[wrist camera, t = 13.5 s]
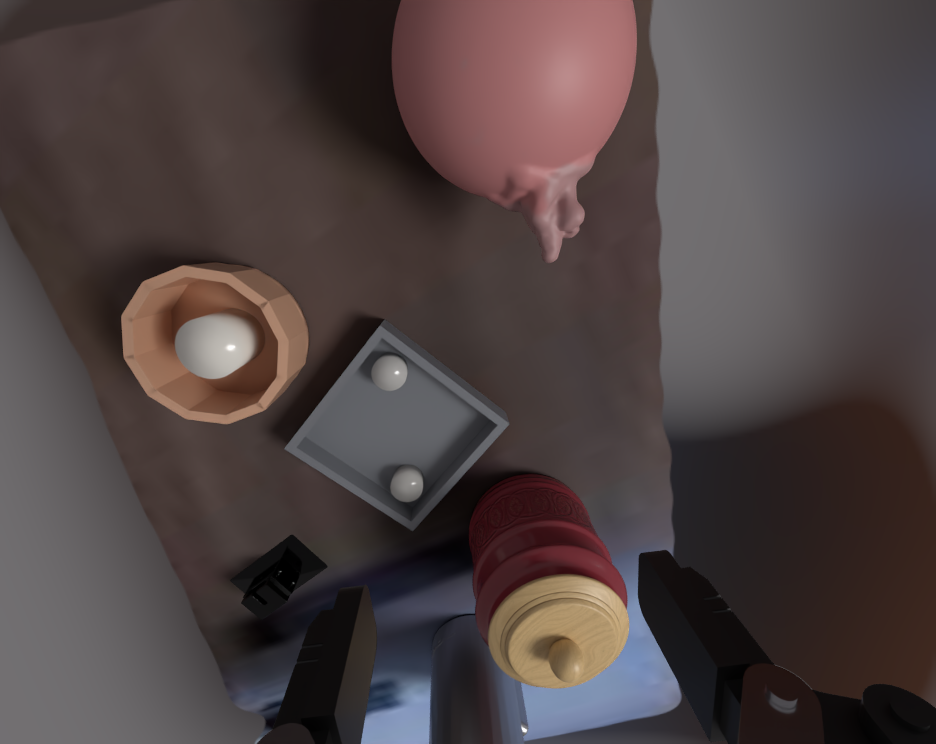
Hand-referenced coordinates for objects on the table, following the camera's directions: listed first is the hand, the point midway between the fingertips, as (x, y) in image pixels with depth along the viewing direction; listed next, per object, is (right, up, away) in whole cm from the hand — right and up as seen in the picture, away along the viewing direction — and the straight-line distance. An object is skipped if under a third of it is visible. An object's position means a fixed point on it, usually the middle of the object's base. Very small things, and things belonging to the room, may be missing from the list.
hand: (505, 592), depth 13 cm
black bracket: (-22, -16, +36) cm, 45 cm away
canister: (+5, -10, +35) cm, 37 cm away
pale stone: (-22, +10, +26) cm, 36 cm away
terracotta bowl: (-22, +10, +27) cm, 36 cm away
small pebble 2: (-7, -5, +32) cm, 33 cm away
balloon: (+2, +26, +24) cm, 35 cm away
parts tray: (-8, +1, +31) cm, 32 cm away
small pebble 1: (-8, +7, +28) cm, 30 cm away
